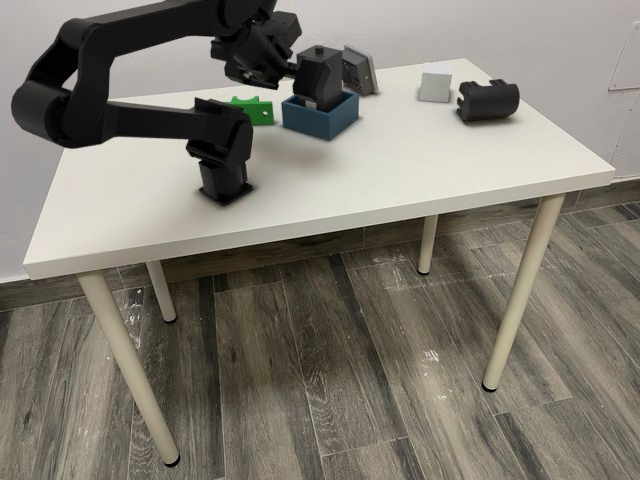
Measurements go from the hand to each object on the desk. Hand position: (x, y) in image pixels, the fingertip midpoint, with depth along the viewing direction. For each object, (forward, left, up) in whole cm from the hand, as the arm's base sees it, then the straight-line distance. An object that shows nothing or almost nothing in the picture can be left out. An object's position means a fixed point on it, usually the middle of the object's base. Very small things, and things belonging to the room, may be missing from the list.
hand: (298, 92), depth 85 cm
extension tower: (+7, +1, -8) cm, 11 cm away
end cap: (+29, -23, -9) cm, 38 cm away
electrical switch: (+24, +5, -9) cm, 26 cm away
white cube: (+32, -10, -9) cm, 35 cm away
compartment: (+7, +1, -9) cm, 11 cm away
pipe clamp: (-2, +13, -9) cm, 16 cm away
